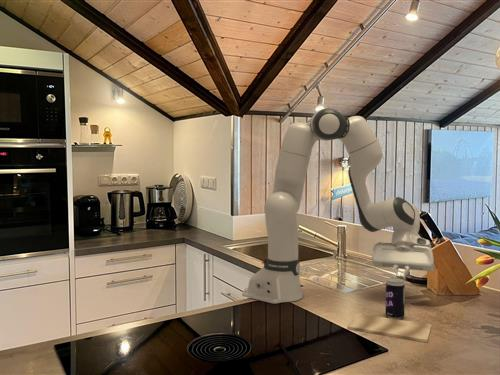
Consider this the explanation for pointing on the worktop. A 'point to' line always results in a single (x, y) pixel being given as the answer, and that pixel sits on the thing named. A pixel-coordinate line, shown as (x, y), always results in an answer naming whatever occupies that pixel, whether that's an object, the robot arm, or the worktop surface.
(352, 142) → the robot arm
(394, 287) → the beverage can
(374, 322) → the folded beige cloth
